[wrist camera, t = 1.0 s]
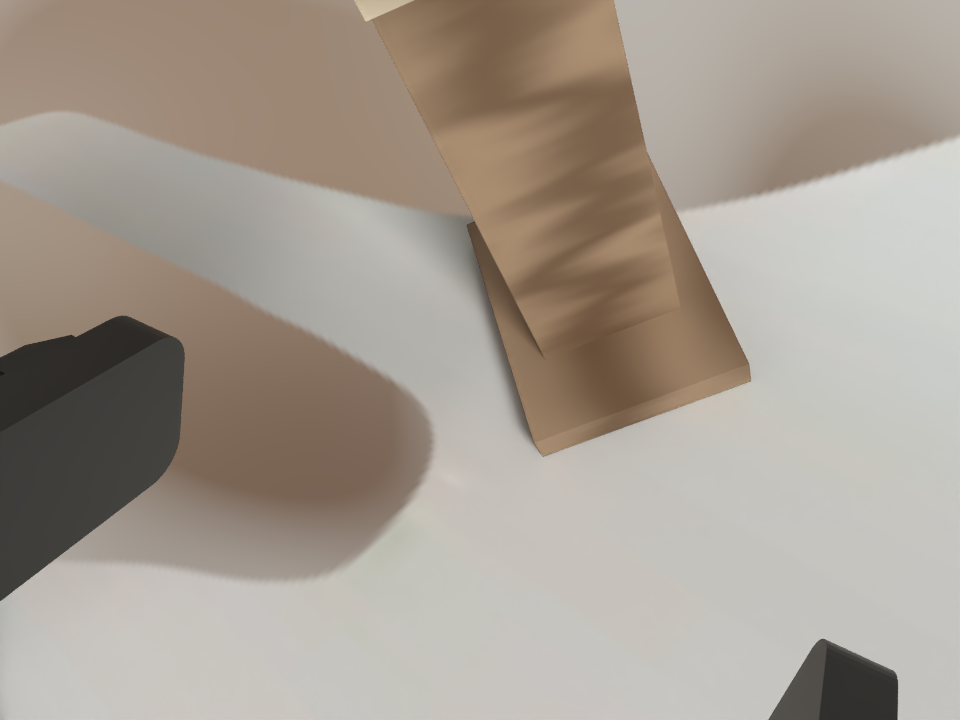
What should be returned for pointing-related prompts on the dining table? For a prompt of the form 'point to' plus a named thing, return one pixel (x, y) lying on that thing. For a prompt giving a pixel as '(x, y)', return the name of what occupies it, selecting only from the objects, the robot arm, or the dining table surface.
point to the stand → (565, 211)
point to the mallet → (378, 7)
